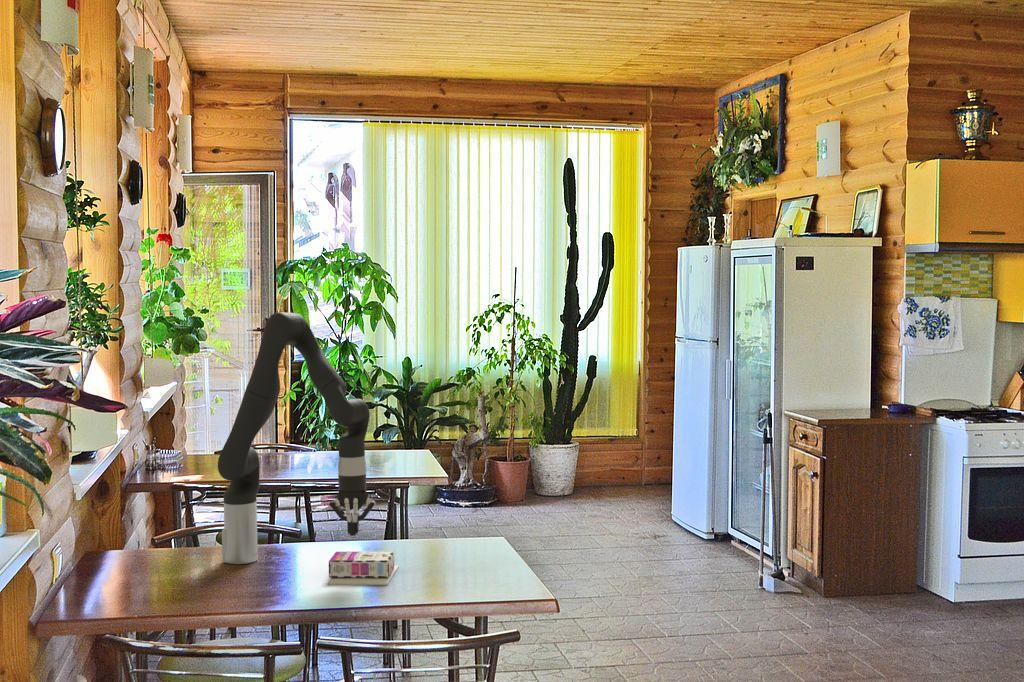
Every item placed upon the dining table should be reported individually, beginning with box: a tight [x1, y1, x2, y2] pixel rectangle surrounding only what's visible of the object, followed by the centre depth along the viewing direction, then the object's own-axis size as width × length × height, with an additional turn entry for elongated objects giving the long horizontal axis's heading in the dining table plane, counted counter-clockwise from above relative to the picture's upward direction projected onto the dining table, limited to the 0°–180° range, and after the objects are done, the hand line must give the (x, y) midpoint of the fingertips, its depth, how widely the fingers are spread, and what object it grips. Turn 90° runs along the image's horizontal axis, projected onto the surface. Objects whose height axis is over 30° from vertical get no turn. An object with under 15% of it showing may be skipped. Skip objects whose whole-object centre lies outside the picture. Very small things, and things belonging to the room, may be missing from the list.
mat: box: [327, 564, 400, 586], centre depth 296 cm, size 16×18×1 cm
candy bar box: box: [328, 550, 395, 579], centre depth 296 cm, size 11×5×16 cm
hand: (353, 535), depth 296 cm, fingers closed
